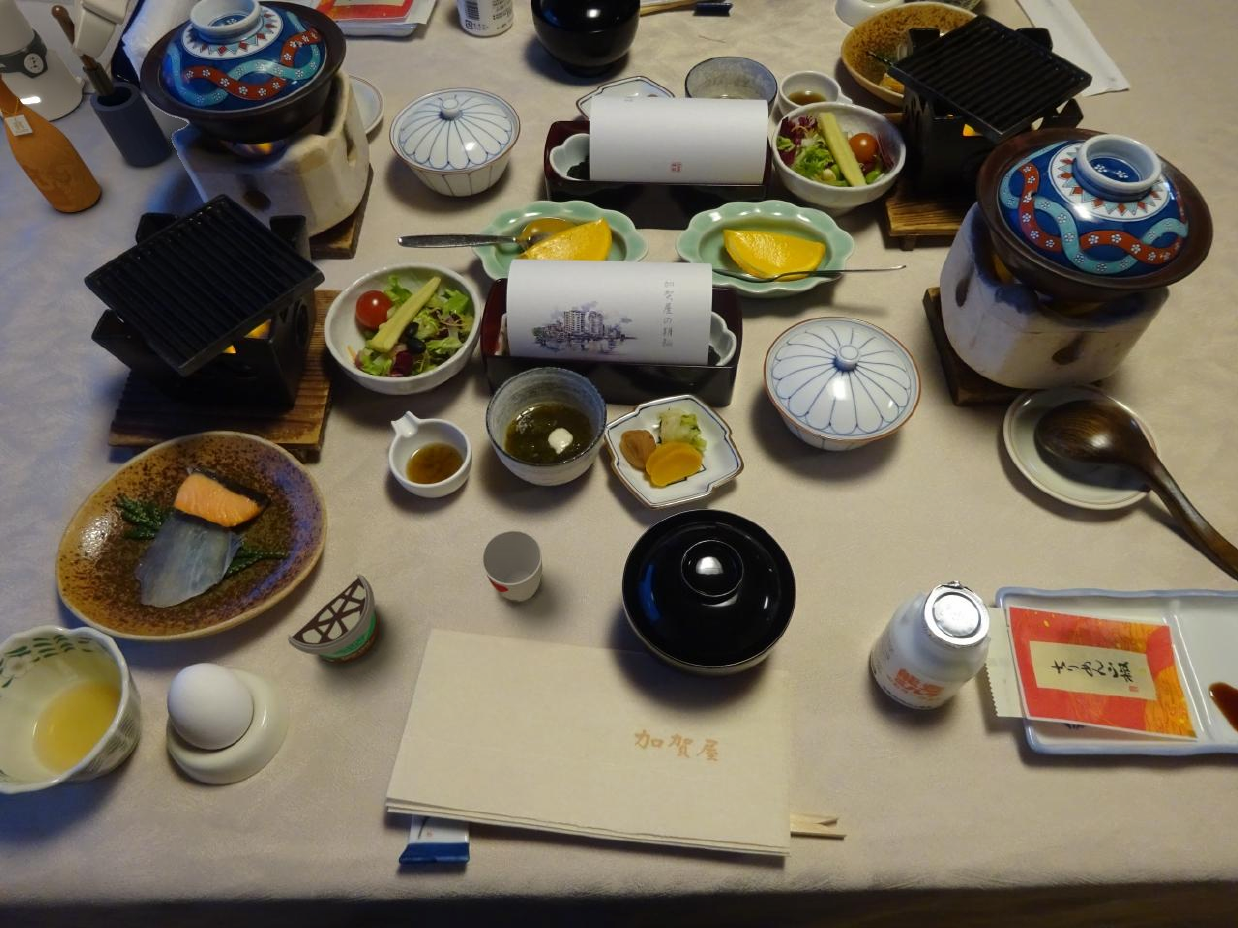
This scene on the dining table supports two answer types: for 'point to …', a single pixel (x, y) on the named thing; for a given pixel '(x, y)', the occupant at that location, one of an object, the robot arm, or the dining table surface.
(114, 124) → the dark gray hollow cylinder
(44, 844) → the dining table surface
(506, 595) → the cup
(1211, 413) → the dining table surface
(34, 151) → the wine bottle
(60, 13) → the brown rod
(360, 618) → the food container
